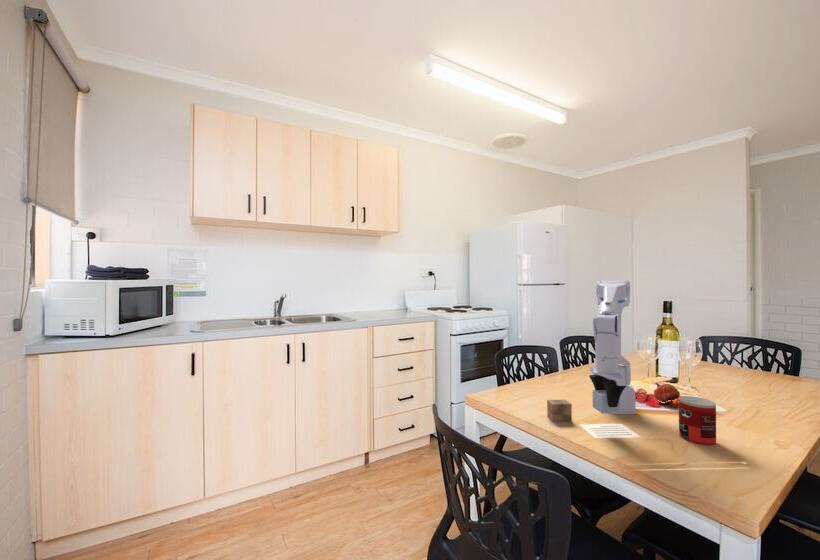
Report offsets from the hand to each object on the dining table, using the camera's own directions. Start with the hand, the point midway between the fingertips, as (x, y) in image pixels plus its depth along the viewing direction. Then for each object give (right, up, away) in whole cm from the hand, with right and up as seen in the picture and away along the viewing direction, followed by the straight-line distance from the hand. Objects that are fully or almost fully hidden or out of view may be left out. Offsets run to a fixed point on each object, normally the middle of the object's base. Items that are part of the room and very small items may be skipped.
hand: (607, 403), depth 101 cm
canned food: (+22, -9, -5) cm, 24 cm away
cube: (0, -2, 0) cm, 2 cm away
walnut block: (-10, -9, +10) cm, 16 cm away
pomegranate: (+34, -8, +22) cm, 42 cm away
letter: (+1, -9, +1) cm, 9 cm away
